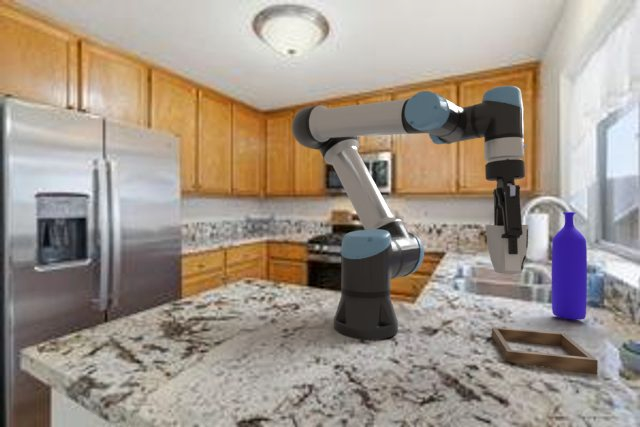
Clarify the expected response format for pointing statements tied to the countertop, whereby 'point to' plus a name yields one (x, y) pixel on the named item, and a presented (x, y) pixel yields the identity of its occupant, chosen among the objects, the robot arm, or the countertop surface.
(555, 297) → the bottle
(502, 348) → the tray
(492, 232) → the cup
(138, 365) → the countertop surface
